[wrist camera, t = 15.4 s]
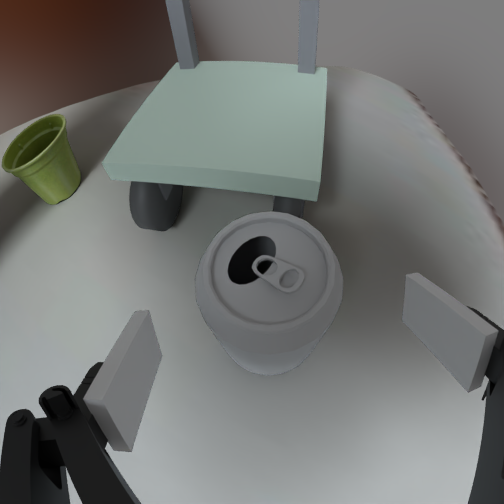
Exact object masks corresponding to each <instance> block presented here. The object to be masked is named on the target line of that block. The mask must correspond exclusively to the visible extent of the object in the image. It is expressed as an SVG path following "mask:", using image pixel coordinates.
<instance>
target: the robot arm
mask: <svg viewBox="0 0 504 504" xmlns="http://www.w3.org/2000/svg"><path fill="white" fill-rule="evenodd" d="M402 321H403V322H404V323H405V324H406V325H407V326H408V328H409V329H410V330H411V331H412V332H413V333H414V334H415V335H416V336H417V337H418V338H419V339H420V340H421V341H422V342H423V343H424V344H425V346H426V347H427V348H428V349H429V350H430V351H431V352H432V353H433V354H434V355H435V356H436V357H437V359H438V360H439V361H440V362H441V363H442V364H443V365H444V366H445V367H446V368H447V370H448V371H449V372H450V373H451V374H452V375H453V376H454V377H455V379H456V380H457V381H458V382H459V383H460V384H461V385H462V386H463V388H464V389H465V390H466V391H467V392H470V391H472V390H474V389H477V388H479V387H481V384H482V382H483V379H484V376H485V375H486V376H487V377H488V378H489V382H488V385H487V387H486V390H485V392H484V395H483V397H482V400H484V398H485V397H486V407H485V417H484V426H483V434H482V440H481V447H480V453H479V458H478V463H477V468H476V473H475V477H474V482H473V486H472V490H471V494H470V497H469V501H468V504H504V330H503V329H501V328H500V327H499V326H498V325H496V324H495V323H494V322H492V321H491V320H489V319H488V318H487V317H485V316H483V314H481V313H480V312H479V311H477V310H476V309H473V308H470V307H468V306H465V305H464V304H462V303H461V302H459V301H458V300H457V299H455V298H454V297H452V296H451V295H450V294H448V293H447V292H445V291H444V290H442V289H441V288H440V287H438V286H437V285H435V284H434V283H432V282H431V281H429V280H428V279H427V278H425V277H424V276H422V275H421V274H419V273H418V272H417V273H412V274H406V278H405V293H404V305H403V315H402ZM161 358H162V353H161V350H160V347H159V344H158V340H157V337H156V333H155V330H154V327H153V323H152V319H151V316H150V312H149V310H145V311H135V312H134V314H133V315H132V317H131V318H130V320H129V322H128V323H127V325H126V326H125V328H124V330H123V331H122V333H121V335H120V336H119V338H118V340H117V341H116V343H115V344H114V346H113V348H112V349H111V351H110V353H109V355H108V356H107V358H106V360H105V361H104V362H98V363H96V364H95V365H94V366H93V367H92V368H90V369H89V371H88V373H87V374H86V376H85V378H84V379H83V381H82V382H81V383H82V384H80V386H79V387H78V389H77V391H76V392H75V394H74V396H73V395H72V393H71V391H70V390H69V388H68V387H66V386H63V385H57V386H53V387H50V388H49V389H47V390H45V391H44V392H43V393H42V394H41V396H40V397H39V404H40V406H41V407H42V409H43V411H44V412H45V414H46V416H47V417H46V418H37V419H36V418H35V417H34V415H33V414H32V412H31V411H30V410H27V409H20V410H18V411H15V412H13V413H12V414H11V415H10V416H9V417H8V419H7V422H6V427H5V433H4V440H3V447H2V455H1V464H0V504H70V499H69V492H68V484H67V476H66V468H67V470H68V473H69V475H70V477H71V480H72V482H73V484H74V487H75V489H76V491H77V493H78V495H79V497H80V499H81V501H82V503H83V504H141V503H140V501H139V500H138V498H137V497H136V496H135V494H134V493H133V491H132V490H131V489H130V487H129V486H128V484H127V483H126V481H125V480H124V478H123V477H122V475H121V474H120V472H119V470H118V469H117V467H116V466H115V464H114V462H113V461H112V459H111V458H110V456H109V454H108V453H107V451H106V450H105V447H106V444H107V442H109V444H110V446H111V447H112V449H113V450H114V451H125V452H132V449H133V446H134V442H135V439H136V436H137V432H138V429H139V426H140V423H141V419H142V416H143V413H144V410H145V407H146V404H147V400H148V397H149V394H150V391H151V388H152V385H153V382H154V379H155V376H156V373H157V370H158V367H159V364H160V361H161Z"/></svg>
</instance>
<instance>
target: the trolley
mask: <svg viewBox="0 0 504 504" xmlns="http://www.w3.org/2000/svg"><path fill="white" fill-rule="evenodd" d="M166 5H167V10H168V14H169V19H170V24H171V28H172V34H173V38H174V43H175V48H176V52H177V57H178V63H176V64H175V65H174V66H173V67H172V68H171V70H170V71H169V72H168V73H167V74H166V75H165V76H164V78H163V79H162V80H161V81H160V82H159V84H158V85H157V86H156V87H155V89H154V90H153V91H152V92H151V94H150V95H149V96H148V97H147V99H146V100H145V101H144V103H143V104H142V105H141V107H140V108H139V109H138V111H137V112H136V113H135V115H134V116H133V117H132V119H131V120H130V121H129V123H128V124H127V126H126V127H125V128H124V130H123V131H122V133H121V134H120V136H119V137H118V139H117V140H116V142H115V143H114V145H113V146H112V148H111V149H110V151H109V152H108V154H107V155H106V157H105V158H104V160H103V162H102V165H103V167H104V168H105V170H106V172H107V174H108V175H109V177H110V179H111V180H123V181H131V186H130V196H129V201H130V210H131V214H132V217H133V220H134V222H135V223H136V224H137V225H138V226H139V227H140V228H143V229H150V230H157V231H166V230H168V229H169V228H170V227H171V226H172V224H173V223H174V221H175V219H176V217H177V214H178V212H179V208H180V204H181V199H182V191H183V185H187V186H197V187H207V188H217V189H226V190H235V191H243V192H251V193H259V194H267V195H274V206H273V212H281V213H288V214H291V215H293V216H296V217H298V218H300V217H301V218H302V217H303V210H304V203H305V200H310V201H316V202H317V198H318V192H319V187H320V180H321V169H322V156H323V142H324V127H325V110H326V88H327V68H321V67H315V63H316V49H317V33H318V15H319V0H300V10H299V11H300V12H299V50H298V65H295V64H283V63H271V62H251V61H250V62H249V61H199V56H198V51H197V45H196V39H195V33H194V27H193V22H192V15H191V9H190V3H189V0H166Z"/></svg>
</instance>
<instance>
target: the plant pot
mask: <svg viewBox="0 0 504 504" xmlns="http://www.w3.org/2000/svg"><path fill="white" fill-rule="evenodd" d="M65 127H66V119H65V117H64V116H63V115H60V114H52V115H49V116H46V117H43V118H41V119H39V120H38V121H36V122H34V123H33V124H31V125H30V126H28V127H27V128H26V129H24V130H23V131H22V132H21V133H20V134H19V135H18V136H17V137H16V138H15V139H14V140H13V141H12V142H11V144H10V145H9V147H8V148H7V150H6V152H5V154H4V156H3V159H2V168H3V169H4V170H5V171H6V172H8V173H12V174H13V175H14V176H16V177H19V178H20V179H21V180H22V181H23V182H24V183H25V184H26V185H28V186H29V187H30V188H31V189H32V190H33V191H34V192H35V193H36V194H37V195H39V196H40V197H41V198H42V199H43V200H44V201H45V202H46V203H48V204H51V205H53V204H57V203H58V202H59V201H61V200H64V199H67V198H69V197H70V196H71V195H72V194H73V193H74V192H75V190H76V189H77V187H78V186H79V184H80V181H81V174H80V170H79V168H78V165H77V163H76V160H75V158H74V155H73V153H72V150H71V147H70V145H69V142H68V139H67V131H66V128H65Z"/></svg>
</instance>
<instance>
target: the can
mask: <svg viewBox="0 0 504 504" xmlns="http://www.w3.org/2000/svg"><path fill="white" fill-rule="evenodd" d="M195 289H196V301H197V304H198V306H199V308H200V311H201V313H202V315H203V318H204V320H205V322H206V323H207V325H208V326H209V328H210V329H211V331H212V332H213V333H214V335H215V336H216V338H217V339H218V340H219V342H220V343H221V345H222V346H223V347H224V349H225V350H226V352H227V353H228V354H229V356H230V357H231V358H232V359H233V360H234V361H235V362H236V363H237V364H238V365H239V366H241V367H243V368H244V369H246V370H248V371H250V372H252V373H256V374H262V375H268V376H269V375H276V374H282V373H286V372H288V371H290V370H291V369H293V368H295V367H297V366H299V365H300V364H301V363H302V362H303V361H304V360H305V359H306V358H307V357H308V356H309V354H310V353H311V352H312V350H313V349H314V348H315V346H316V345H317V343H318V342H319V341H320V339H321V338H322V336H323V335H324V334H325V332H326V331H327V329H328V328H329V327H330V325H331V324H332V322H333V320H334V318H335V316H336V313H337V311H338V309H339V307H340V304H341V302H342V294H343V275H342V272H341V268H340V265H339V261H338V258H337V257H336V255H335V254H334V252H333V251H332V248H331V246H330V245H329V243H328V242H327V240H326V239H325V238H324V236H323V235H322V233H321V232H320V231H318V230H317V229H316V228H315V227H313V226H312V225H311V224H310V223H308V222H307V221H305V220H303V219H301V218H298V217H296V216H293V215H291V214H288V213H281V212H273V211H266V212H258V213H251V214H248V215H245V216H243V217H241V218H238V219H236V220H233V221H232V222H230V223H229V224H228V225H227V226H225V227H224V228H223V229H222V230H220V231H219V232H218V233H217V234H216V235H215V237H214V238H213V240H212V241H211V243H210V244H209V246H208V247H207V249H206V252H205V253H204V255H203V256H202V258H201V259H200V263H199V266H198V270H197V274H196V277H195Z"/></svg>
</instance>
